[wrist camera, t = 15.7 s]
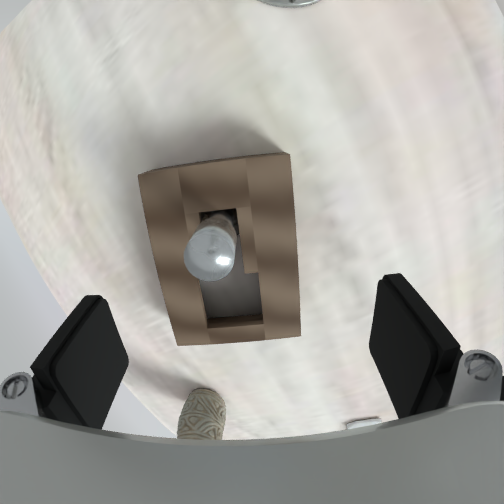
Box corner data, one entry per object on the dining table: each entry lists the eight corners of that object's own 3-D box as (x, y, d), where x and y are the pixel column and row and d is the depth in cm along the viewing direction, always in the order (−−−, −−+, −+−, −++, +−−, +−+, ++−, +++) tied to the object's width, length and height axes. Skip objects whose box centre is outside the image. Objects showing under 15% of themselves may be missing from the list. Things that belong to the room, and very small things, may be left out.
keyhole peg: (197, 195, 36) (167, 228, 23) (243, 189, 36) (239, 219, 23) (204, 238, 38) (181, 292, 25) (249, 234, 38) (248, 286, 25)
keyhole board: (151, 169, 35) (137, 174, 30) (284, 152, 34) (289, 154, 30) (184, 324, 43) (177, 345, 38) (295, 315, 42) (300, 336, 37)
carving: (189, 380, 47) (177, 436, 36) (232, 392, 48) (228, 449, 37) (180, 401, 49) (169, 454, 38) (220, 413, 50) (216, 466, 39)
